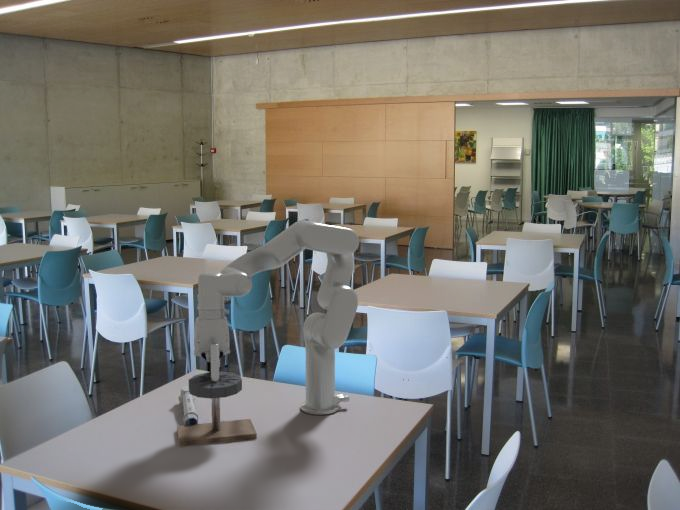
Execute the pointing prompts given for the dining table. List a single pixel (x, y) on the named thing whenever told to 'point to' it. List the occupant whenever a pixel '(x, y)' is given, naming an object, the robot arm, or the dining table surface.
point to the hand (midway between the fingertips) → (212, 373)
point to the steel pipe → (214, 378)
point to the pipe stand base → (215, 432)
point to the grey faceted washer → (215, 385)
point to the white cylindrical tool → (188, 406)
